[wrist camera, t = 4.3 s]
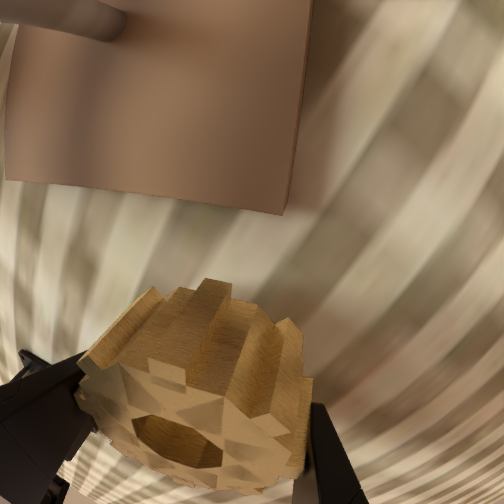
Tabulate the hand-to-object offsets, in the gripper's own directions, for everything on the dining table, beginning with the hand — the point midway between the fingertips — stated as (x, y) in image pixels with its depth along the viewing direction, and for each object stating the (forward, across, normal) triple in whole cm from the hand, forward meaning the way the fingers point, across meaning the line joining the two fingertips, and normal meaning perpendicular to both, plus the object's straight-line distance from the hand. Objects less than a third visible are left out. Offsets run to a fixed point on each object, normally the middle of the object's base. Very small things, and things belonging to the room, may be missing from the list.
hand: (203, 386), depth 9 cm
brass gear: (+1, 0, 0) cm, 1 cm away
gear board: (+3, +5, -14) cm, 15 cm away
